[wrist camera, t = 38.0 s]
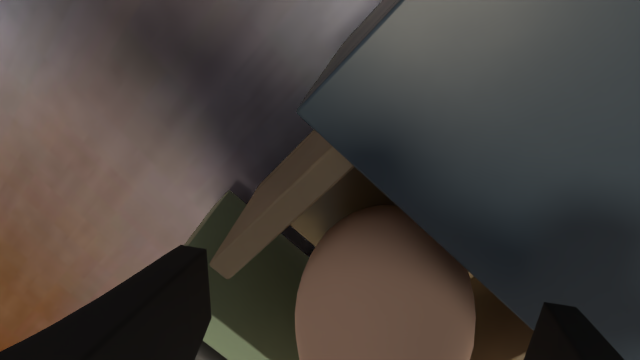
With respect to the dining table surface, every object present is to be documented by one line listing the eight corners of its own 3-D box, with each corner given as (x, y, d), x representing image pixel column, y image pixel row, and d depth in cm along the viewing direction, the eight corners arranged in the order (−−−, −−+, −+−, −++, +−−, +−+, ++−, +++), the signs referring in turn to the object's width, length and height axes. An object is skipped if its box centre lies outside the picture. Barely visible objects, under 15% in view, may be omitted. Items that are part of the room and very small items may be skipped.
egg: (485, 265, 18) (531, 492, 10) (359, 303, 20) (325, 516, 12) (427, 147, 16) (436, 320, 9) (296, 201, 18) (215, 379, 11)
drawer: (320, 391, 24) (293, 512, 19) (157, 264, 22) (80, 361, 17) (645, 189, 16) (747, 303, 11) (439, -32, 14) (451, -15, 9)
